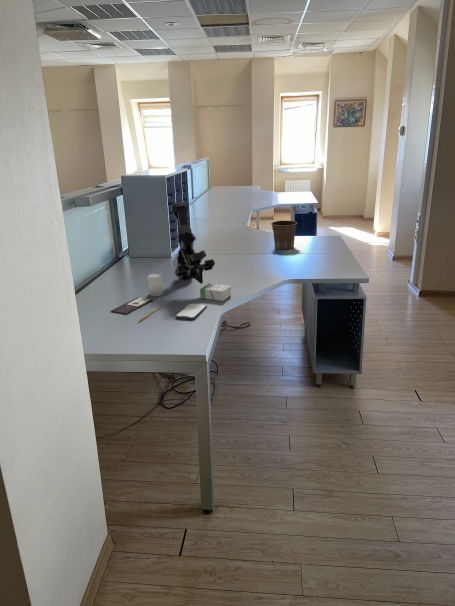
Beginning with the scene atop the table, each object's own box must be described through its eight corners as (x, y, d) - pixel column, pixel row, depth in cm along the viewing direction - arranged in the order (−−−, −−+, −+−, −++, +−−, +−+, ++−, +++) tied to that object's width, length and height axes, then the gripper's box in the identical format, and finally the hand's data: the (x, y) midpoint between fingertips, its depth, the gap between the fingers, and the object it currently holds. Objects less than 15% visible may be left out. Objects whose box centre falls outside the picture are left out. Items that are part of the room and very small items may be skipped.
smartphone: (189, 306, 197) (174, 319, 183) (189, 303, 197) (174, 316, 182) (208, 308, 194) (194, 321, 180) (208, 304, 194) (194, 317, 180)
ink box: (200, 298, 204) (223, 301, 199) (199, 288, 202) (222, 291, 197) (209, 292, 211) (231, 295, 206) (208, 283, 209) (231, 285, 204)
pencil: (138, 324, 180) (160, 308, 196) (138, 322, 180) (160, 306, 195) (136, 324, 180) (158, 308, 196) (135, 321, 180) (158, 306, 196)
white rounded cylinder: (147, 293, 214) (145, 275, 211) (160, 290, 217) (158, 273, 214) (152, 297, 209) (150, 278, 206) (165, 294, 212) (163, 276, 209)
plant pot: (290, 251, 276) (290, 226, 270) (267, 249, 284) (266, 224, 278) (300, 246, 289) (301, 221, 283) (278, 244, 297) (278, 219, 291)
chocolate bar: (110, 310, 194) (137, 297, 208) (110, 312, 194) (137, 299, 209) (126, 313, 189) (152, 299, 204) (126, 315, 190) (152, 301, 204)
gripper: (175, 248, 198) (187, 278, 193) (212, 242, 207) (225, 270, 202) (169, 262, 208) (181, 290, 202) (205, 255, 216) (217, 282, 211)
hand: (201, 283), depth 204 cm, fingers closed
